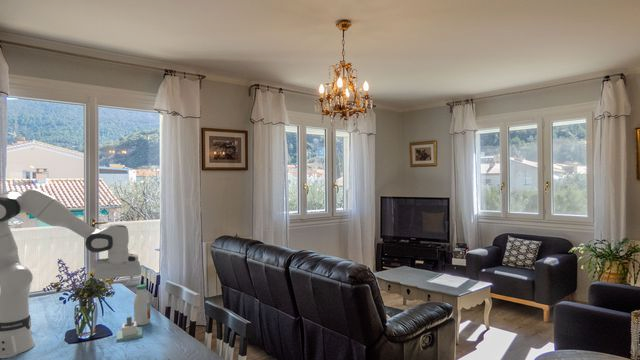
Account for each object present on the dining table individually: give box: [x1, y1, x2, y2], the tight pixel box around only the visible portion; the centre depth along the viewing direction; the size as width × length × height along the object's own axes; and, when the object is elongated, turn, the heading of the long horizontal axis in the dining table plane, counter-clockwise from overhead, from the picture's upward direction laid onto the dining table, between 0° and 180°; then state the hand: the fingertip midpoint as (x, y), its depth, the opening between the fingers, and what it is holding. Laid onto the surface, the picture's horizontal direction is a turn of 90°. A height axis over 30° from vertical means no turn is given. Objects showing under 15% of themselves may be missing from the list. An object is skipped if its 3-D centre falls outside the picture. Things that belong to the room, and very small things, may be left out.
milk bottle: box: [133, 284, 151, 327], centre depth 209 cm, size 8×8×20 cm
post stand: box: [116, 316, 143, 342], centre depth 194 cm, size 11×11×9 cm
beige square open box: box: [121, 321, 137, 336], centre depth 194 cm, size 6×6×4 cm
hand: (117, 286), depth 192 cm, fingers open, 8 cm apart
